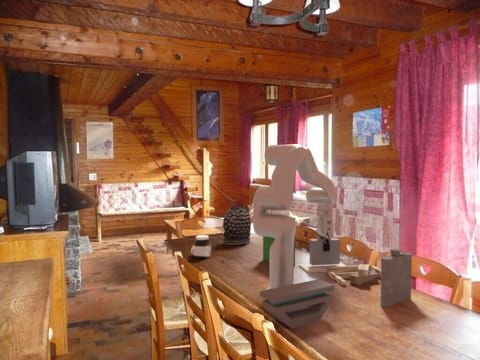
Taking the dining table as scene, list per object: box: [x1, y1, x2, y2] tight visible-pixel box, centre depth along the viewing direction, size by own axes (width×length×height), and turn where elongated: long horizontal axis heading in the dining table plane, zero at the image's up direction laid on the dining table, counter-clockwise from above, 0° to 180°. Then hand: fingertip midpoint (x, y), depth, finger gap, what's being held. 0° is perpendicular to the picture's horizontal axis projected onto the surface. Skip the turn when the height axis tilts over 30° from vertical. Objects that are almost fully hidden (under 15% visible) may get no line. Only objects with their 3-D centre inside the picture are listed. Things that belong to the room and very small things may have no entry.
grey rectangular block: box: [308, 237, 341, 266], centre depth 192 cm, size 4×14×12 cm, turn 101°
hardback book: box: [262, 217, 296, 266], centre depth 203 cm, size 18×7×24 cm, turn 31°
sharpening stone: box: [259, 278, 336, 329], centre depth 131 cm, size 25×8×11 cm, turn 120°
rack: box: [326, 264, 381, 287], centre depth 176 cm, size 17×22×4 cm
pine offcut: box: [358, 263, 370, 277], centre depth 171 cm, size 4×9×3 cm, turn 159°
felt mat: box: [298, 261, 347, 274], centre depth 193 cm, size 12×22×1 cm, turn 100°
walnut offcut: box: [349, 271, 379, 287], centre depth 171 cm, size 5×12×4 cm, turn 121°
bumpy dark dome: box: [222, 204, 252, 246], centre depth 250 cm, size 21×15×25 cm
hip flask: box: [380, 247, 413, 308], centre depth 147 cm, size 16×4×20 cm, turn 123°
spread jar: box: [190, 234, 212, 260], centre depth 216 cm, size 12×11×12 cm
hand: (324, 249), depth 192 cm, fingers closed on grey rectangular block, 4 cm apart
